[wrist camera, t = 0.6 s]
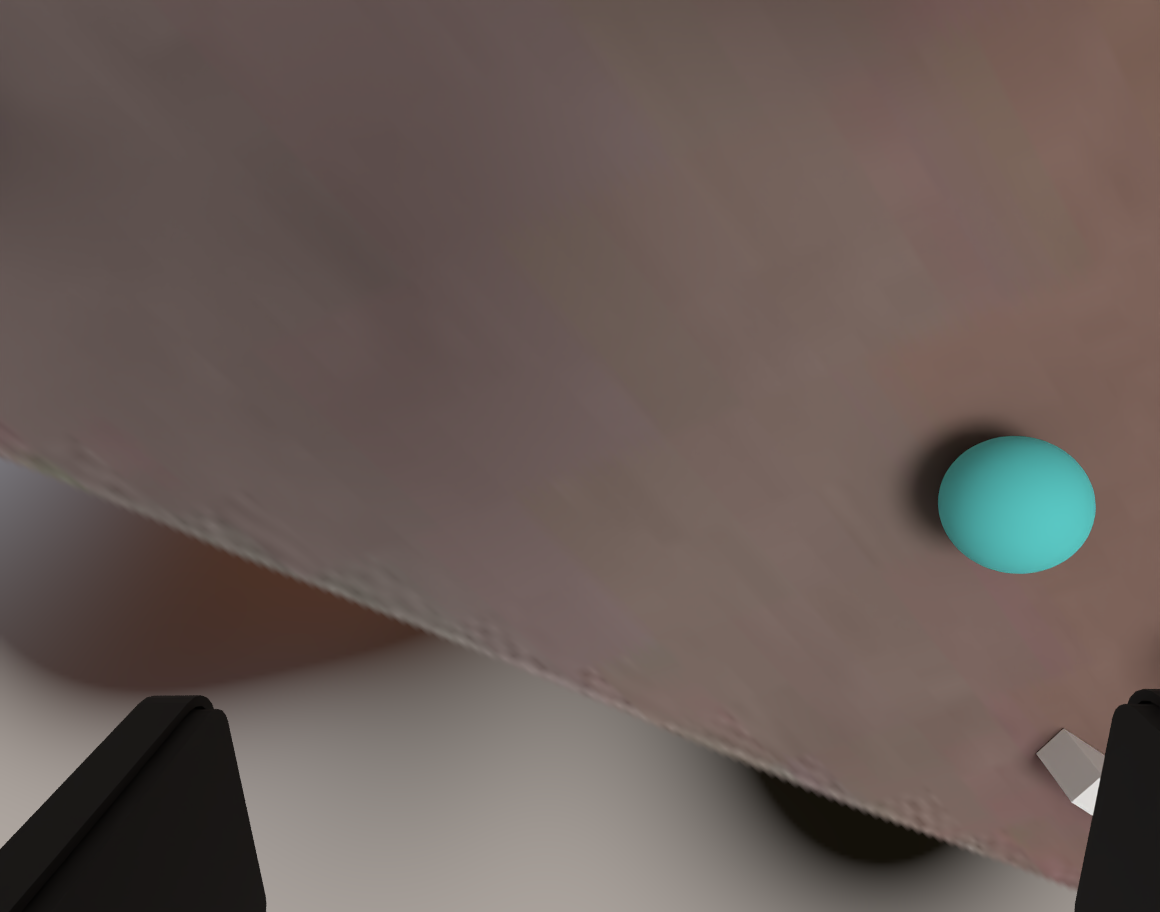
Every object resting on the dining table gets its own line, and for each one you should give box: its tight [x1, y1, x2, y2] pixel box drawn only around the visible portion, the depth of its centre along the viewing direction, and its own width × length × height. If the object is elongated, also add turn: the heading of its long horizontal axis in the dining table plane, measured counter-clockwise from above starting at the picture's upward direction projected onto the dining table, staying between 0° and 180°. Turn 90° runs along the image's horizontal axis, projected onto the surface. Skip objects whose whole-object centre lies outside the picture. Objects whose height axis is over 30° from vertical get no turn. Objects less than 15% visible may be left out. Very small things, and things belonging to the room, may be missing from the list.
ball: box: [938, 436, 1096, 574], centre depth 34 cm, size 6×6×6 cm
